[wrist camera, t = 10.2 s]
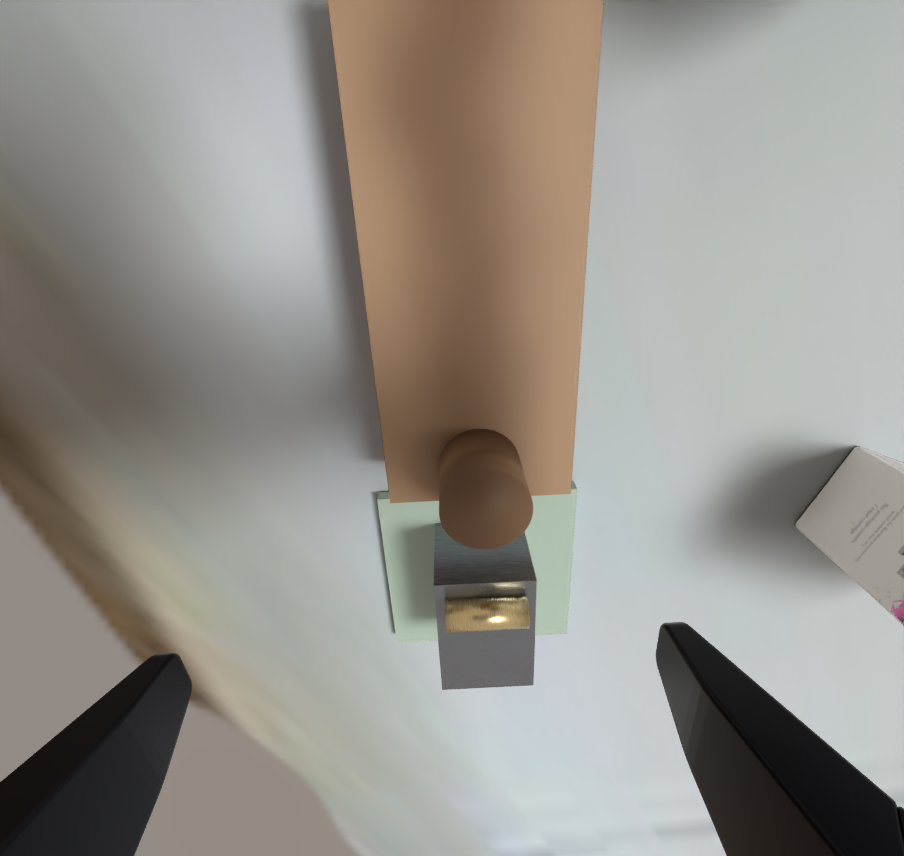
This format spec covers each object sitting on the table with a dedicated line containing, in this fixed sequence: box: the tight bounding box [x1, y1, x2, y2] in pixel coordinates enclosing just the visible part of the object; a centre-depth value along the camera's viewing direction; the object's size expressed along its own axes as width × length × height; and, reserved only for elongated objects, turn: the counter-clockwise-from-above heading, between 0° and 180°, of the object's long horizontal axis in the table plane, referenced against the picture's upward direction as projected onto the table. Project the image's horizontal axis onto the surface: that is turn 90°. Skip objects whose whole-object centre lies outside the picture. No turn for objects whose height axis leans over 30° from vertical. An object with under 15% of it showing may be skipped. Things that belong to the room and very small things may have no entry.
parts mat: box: [377, 482, 577, 642], centre depth 24 cm, size 9×9×1 cm
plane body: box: [328, 0, 604, 549], centre depth 15 cm, size 7×16×6 cm, turn 3°
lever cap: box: [434, 523, 537, 690], centre depth 21 cm, size 4×6×5 cm, turn 3°
